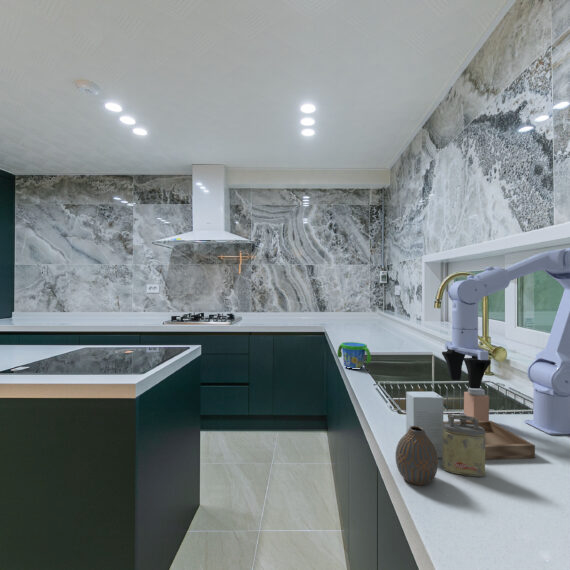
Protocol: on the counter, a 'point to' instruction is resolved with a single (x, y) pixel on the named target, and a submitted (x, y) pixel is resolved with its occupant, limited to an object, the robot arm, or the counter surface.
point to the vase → (416, 457)
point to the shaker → (476, 404)
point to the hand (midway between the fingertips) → (464, 383)
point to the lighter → (463, 446)
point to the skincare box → (426, 416)
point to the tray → (503, 442)
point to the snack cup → (354, 354)
